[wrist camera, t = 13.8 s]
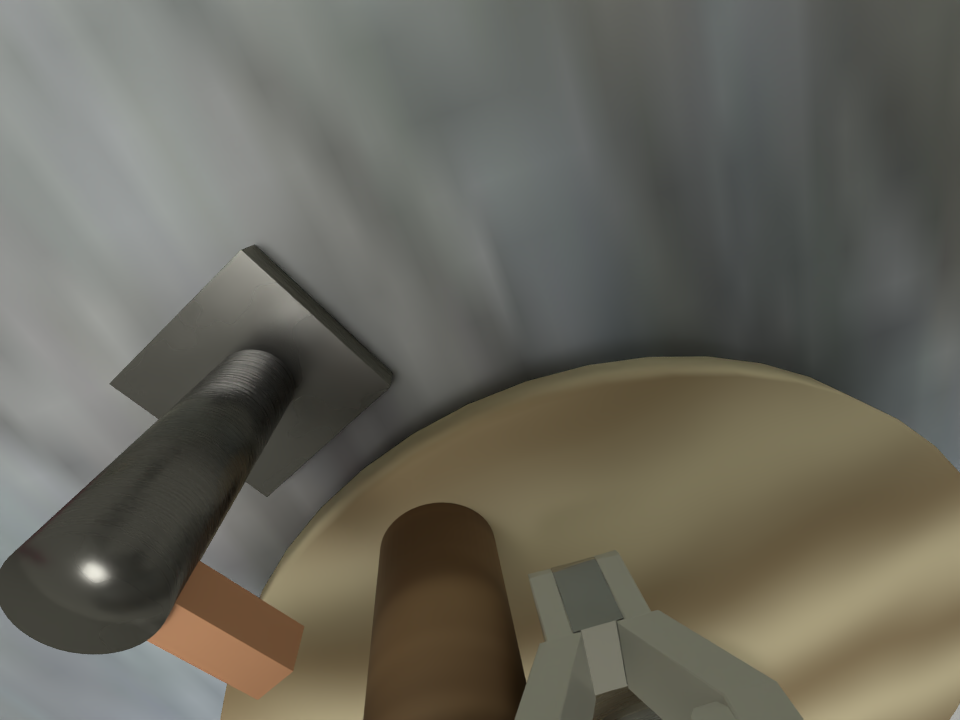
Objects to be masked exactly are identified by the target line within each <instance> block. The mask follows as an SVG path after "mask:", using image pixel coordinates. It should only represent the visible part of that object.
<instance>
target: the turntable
mask: <svg viewBox="0 0 960 720" xmlns="http://www.w3.org/2000/svg"><path fill="white" fill-rule="evenodd" d="M613 550H616V551H617V552H618V553H619V554H620V556H621V558H622V559H623V561H624V563H625V565H626V567H627V568H628V570H629V572H630V574H631V576H632V577H633V579H634V581H635V583H636V585H637V587H638V588H639V590H640V592H641V594H642V596H643V597H644V599H645V601H646V603H647V605H648V607H649V608H650V610H651V611H655V610H659V611H661V612H663V613H664V614H666V615H668V616H669V617H671V618H673V619H674V620H676V621H678V622H679V623H681V624H682V625H684V626H686V627H687V628H689V629H691V630H692V631H694V632H696V633H697V634H699V635H701V636H702V637H704V638H705V639H707V640H709V641H710V642H712V643H714V644H715V645H717V646H719V647H720V648H722V649H724V650H725V651H727V652H729V653H730V654H732V655H733V656H735V657H737V658H738V659H740V660H742V661H743V662H745V663H747V664H748V665H750V666H752V667H753V668H755V669H756V670H758V671H760V672H761V673H763V674H765V675H766V676H768V677H770V678H771V679H773V680H775V681H776V682H777V683H778V684H779V686H780V687H781V688H782V690H783V691H784V693H785V694H786V695H787V697H788V698H789V699H790V701H791V702H792V704H793V705H794V706H795V708H796V709H797V711H798V712H799V713H800V715H801V716H802V718H803V719H804V720H949V719H950V718H951V716H952V715H953V714H954V712H955V711H956V709H957V707H958V705H959V703H960V473H959V472H958V471H957V469H956V468H955V467H954V466H953V465H952V464H951V463H950V462H949V461H948V460H947V459H946V458H945V456H944V455H943V454H942V453H941V452H940V451H939V450H938V449H937V448H936V447H935V446H934V445H933V444H932V443H930V442H929V441H927V440H926V439H925V438H923V437H922V436H920V435H919V434H918V433H916V432H915V431H913V430H912V429H911V428H909V427H908V426H906V425H905V424H904V423H902V422H901V421H900V420H898V419H896V418H894V417H892V416H890V415H888V414H886V413H884V412H882V411H880V410H878V409H876V408H874V407H872V406H870V405H867V404H865V403H863V402H861V401H859V400H857V399H855V398H853V397H851V396H849V395H847V394H845V393H843V392H841V391H838V390H836V389H834V388H832V387H830V386H828V385H826V384H823V383H821V382H819V381H817V380H815V379H813V378H811V377H808V376H804V375H801V374H797V373H794V372H790V371H787V370H783V369H780V368H776V367H772V366H769V365H765V364H762V363H755V362H747V361H739V360H731V359H724V358H716V357H708V356H693V357H644V358H637V359H629V360H622V361H615V362H607V363H600V364H593V365H587V366H583V367H579V368H575V369H571V370H568V371H564V372H560V373H556V374H552V375H549V376H545V377H541V378H537V379H533V380H529V381H526V382H524V383H521V384H518V385H516V386H513V387H511V388H508V389H506V390H503V391H501V392H498V393H496V394H493V395H491V396H488V397H485V398H483V399H480V400H478V401H475V402H473V403H470V404H468V405H466V406H464V407H462V408H460V409H458V410H457V411H455V412H453V413H451V414H449V415H447V416H445V417H444V418H442V419H440V420H438V421H436V422H434V423H432V424H431V425H429V426H427V427H425V428H423V429H421V430H419V431H418V432H416V433H414V434H412V435H411V436H409V437H408V438H406V439H405V440H404V441H402V442H401V443H399V444H398V445H397V446H395V447H394V448H392V449H391V450H389V451H388V452H387V453H385V454H384V455H382V456H381V457H380V458H378V459H377V460H375V461H374V462H373V463H371V464H370V465H368V466H367V467H365V468H364V469H363V470H362V471H361V472H360V473H358V474H357V475H356V476H355V477H354V478H353V479H352V480H351V481H350V482H349V483H348V484H346V485H345V486H344V487H343V488H342V489H341V490H340V491H339V492H338V493H337V494H336V495H335V496H333V497H332V498H331V499H330V500H329V501H328V502H327V503H326V504H325V505H324V506H323V507H321V509H320V510H319V511H318V512H317V513H316V515H315V516H314V517H313V518H312V520H311V521H310V522H309V523H308V524H307V526H306V527H305V528H304V529H303V530H302V532H301V533H300V534H299V535H298V537H297V538H296V539H295V540H294V541H293V543H292V544H291V545H290V546H289V547H288V549H287V550H286V552H285V554H284V555H283V557H282V559H281V560H280V562H279V564H278V565H277V567H276V569H275V570H274V572H273V574H272V575H271V577H270V579H269V580H268V582H267V584H266V585H265V587H264V589H263V590H262V593H261V595H260V599H261V600H263V601H265V602H266V603H268V604H269V605H271V606H273V607H274V608H276V609H277V610H279V611H281V612H282V613H284V614H285V615H287V616H289V617H290V618H292V619H293V620H295V621H297V622H298V623H300V624H301V625H303V626H304V630H303V634H302V638H301V642H300V646H299V650H298V654H297V658H296V662H295V666H294V670H293V672H292V673H291V674H289V675H288V676H287V677H286V678H284V679H283V680H282V681H281V682H279V683H278V684H277V685H276V686H275V687H273V688H272V689H271V690H270V691H268V692H267V693H266V694H265V695H263V696H262V697H261V698H260V699H259V700H257V699H255V698H253V697H251V696H249V695H247V694H245V693H244V692H242V691H240V690H238V689H236V688H234V687H232V686H230V685H229V684H227V687H226V692H225V697H224V703H223V708H222V713H221V719H220V720H514V719H515V716H516V713H517V710H518V707H519V704H520V701H521V698H522V695H523V692H524V689H525V686H526V683H527V680H528V677H529V674H530V671H531V668H532V665H533V662H534V659H535V656H536V653H537V650H538V647H539V644H540V643H543V642H545V641H544V637H543V633H542V629H541V625H540V622H539V618H538V614H537V610H536V606H535V602H534V598H533V594H532V590H531V586H530V582H529V578H528V574H530V573H534V572H538V571H542V570H546V569H551V568H552V567H556V566H560V565H564V564H568V563H572V562H575V561H578V560H582V559H585V558H589V557H594V556H596V555H599V554H603V553H606V552H610V551H613Z"/></svg>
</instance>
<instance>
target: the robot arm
mask: <svg viewBox="0 0 960 720" xmlns="http://www.w3.org/2000/svg"><path fill="white" fill-rule="evenodd" d="M528 578H529V582H530V586H531V590H532V594H533V598H534V602H535V606H536V610H537V614H538V618H539V622H540V625H541V629H542V633H543V637H544V641H545V642H543V643H540V644H539V647H538V650H537V653H536V656H535V659H534V662H533V665H532V668H531V671H530V674H529V677H528V680H527V683H526V686H525V689H524V692H523V695H522V698H521V701H520V704H519V707H518V710H517V713H516V716H515V719H514V720H593V714H594V708H595V701H596V697H595V696H596V695H599V694H602V693H605V692H608V691H611V690H615V689H619V688H623V687H627V686H628V689H630V690H631V691H632V692H633V693H634V694H635V695H636V696H637V697H638V698H639V699H641V700H642V701H643V702H644V703H645V704H646V705H647V706H648V707H649V708H650V709H652V710H653V711H654V712H655V713H656V714H657V715H658V716H659V717H660V718H661V719H663V720H804V719H803V718H802V716H801V715H800V713H799V712H798V711H797V709H796V708H795V706H794V705H793V704H792V702H791V701H790V699H789V698H788V697H787V695H786V694H785V693H784V691H783V690H782V688H781V687H780V686H779V684H778V683H777V682H776V681H775V680H773V679H771V678H770V677H768V676H766V675H765V674H763V673H761V672H760V671H758V670H756V669H755V668H753V667H752V666H750V665H748V664H747V663H745V662H743V661H742V660H740V659H738V658H737V657H735V656H733V655H732V654H730V653H729V652H727V651H725V650H724V649H722V648H720V647H719V646H717V645H715V644H714V643H712V642H710V641H709V640H707V639H705V638H704V637H702V636H701V635H699V634H697V633H696V632H694V631H692V630H691V629H689V628H687V627H686V626H684V625H682V624H681V623H679V622H678V621H676V620H674V619H673V618H671V617H669V616H668V615H666V614H664V613H663V612H661V611H659V610H655V611H651V610H650V608H649V607H648V605H647V603H646V601H645V599H644V597H643V596H642V594H641V592H640V590H639V588H638V587H637V585H636V583H635V581H634V579H633V577H632V576H631V574H630V572H629V570H628V568H627V567H626V565H625V563H624V561H623V559H622V558H621V556H620V554H619V553H618V552H617V551H616V550H613V551H610V552H606V553H603V554H599V555H596V556H594V557H589V558H585V559H582V560H578V561H575V562H572V563H568V564H564V565H560V566H556V567H552V568H551V569H546V570H542V571H538V572H534V573H530V574H528Z"/></svg>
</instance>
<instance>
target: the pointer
mask: <svg viewBox="0 0 960 720" xmlns="http://www.w3.org/2000/svg"><path fill="white" fill-rule="evenodd" d="M391 378H392V372H391V371H390V370H389V369H387V368H386V367H385V366H384V365H383V364H382V363H381V362H380V361H379V360H378V359H377V358H376V357H375V356H373V355H372V354H371V353H370V352H369V351H368V350H367V349H366V348H365V347H364V346H363V345H362V344H361V343H359V342H358V341H357V340H356V339H355V338H354V337H353V336H352V335H351V334H350V333H349V332H348V331H347V330H345V329H344V328H343V327H342V326H341V325H340V324H339V323H338V322H337V321H336V320H335V319H334V318H333V317H331V316H330V315H329V314H328V313H327V312H326V311H325V310H324V309H323V308H322V307H321V306H320V305H319V304H317V303H316V302H315V301H314V300H313V299H312V298H311V297H310V296H309V295H308V294H307V293H306V292H305V291H303V290H302V289H301V288H300V287H299V286H298V285H297V284H296V283H295V282H294V281H293V280H292V279H291V278H289V277H288V276H287V275H286V274H285V273H284V272H283V271H282V270H281V269H280V268H279V267H278V266H277V265H275V264H274V263H273V262H272V261H271V260H270V259H269V258H268V257H267V256H266V255H265V254H264V253H263V252H261V251H260V250H259V249H258V248H257V247H256V246H255V245H252V246H250V247H247V248H245V249H242V250H240V251H239V252H238V253H237V255H236V256H235V257H234V258H233V259H232V260H231V261H230V262H229V263H228V264H227V265H226V266H225V267H224V268H223V269H222V270H221V271H220V272H219V273H218V274H217V275H216V276H215V277H214V278H213V279H212V280H211V281H210V282H209V283H208V284H207V285H206V286H205V287H204V288H203V289H202V290H201V291H200V292H199V293H198V294H197V295H196V296H195V297H194V298H193V299H192V300H191V301H190V302H189V303H188V304H187V305H186V306H185V307H184V308H183V309H182V310H181V311H180V312H179V313H178V314H177V316H176V317H175V318H174V319H173V320H172V321H171V322H170V323H169V324H168V325H167V326H166V327H165V328H164V329H163V330H162V331H161V332H160V333H159V334H158V335H157V336H156V337H155V338H154V339H153V340H152V341H151V342H150V343H149V344H148V345H147V346H146V347H145V348H144V349H143V350H142V351H141V352H140V353H139V354H138V355H137V356H136V357H135V358H134V359H133V360H132V361H131V362H130V363H129V364H128V365H127V366H126V367H125V368H124V369H123V370H122V371H121V372H120V373H119V374H118V375H117V377H116V378H115V379H114V380H113V381H112V382H111V383H110V385H112V386H113V387H115V388H116V389H117V390H119V391H120V392H121V393H123V394H124V395H126V396H127V397H128V398H130V399H131V400H133V401H134V402H135V403H137V404H138V405H140V406H141V407H142V408H144V409H145V410H147V411H148V412H149V413H151V414H152V415H153V416H155V417H156V418H158V419H159V420H158V421H156V422H155V423H154V424H153V425H152V426H151V427H150V428H149V429H148V430H147V431H146V432H144V433H143V434H142V435H141V436H140V437H139V438H138V439H137V440H136V441H135V442H134V443H133V444H131V445H130V446H129V447H128V448H127V449H126V450H125V451H124V452H123V453H122V454H121V455H119V456H118V457H117V458H116V459H115V460H114V461H113V462H112V463H111V464H110V465H109V466H107V467H106V468H105V469H104V470H103V471H102V472H101V473H100V474H99V475H98V476H97V477H95V478H94V479H93V480H92V481H91V482H90V483H89V484H88V485H87V486H86V487H85V488H83V489H82V490H81V491H80V492H79V493H78V494H77V495H76V496H75V497H74V498H73V499H72V500H70V501H69V502H68V503H67V504H66V505H65V506H64V507H63V508H62V509H61V510H60V511H58V512H57V513H56V514H55V515H54V516H53V517H52V518H51V519H50V520H49V521H48V522H46V523H45V524H44V525H43V526H42V527H41V528H40V529H39V530H38V531H37V532H36V533H34V534H33V535H32V536H31V537H30V538H29V539H28V540H27V541H26V542H25V543H24V544H22V545H21V546H20V547H19V548H18V549H17V550H16V551H15V552H14V553H13V554H12V555H11V556H9V558H8V559H7V560H6V561H5V562H4V564H3V565H2V567H1V569H0V606H1V608H2V610H3V612H4V613H5V615H6V616H7V617H8V619H9V620H10V621H11V622H12V623H13V624H14V625H15V626H16V627H17V628H18V629H20V630H21V631H22V632H23V633H25V634H26V635H28V636H29V637H31V638H33V639H35V640H36V641H38V642H40V643H43V644H45V645H47V646H50V647H53V648H56V649H59V650H63V651H67V652H73V653H80V654H108V653H115V652H120V651H124V650H127V649H130V648H133V647H135V646H137V645H140V644H142V643H143V642H145V641H148V642H150V643H152V644H154V645H156V646H158V647H160V648H161V649H163V650H165V651H167V652H169V653H171V654H173V655H175V656H176V657H178V658H180V659H182V660H184V661H186V662H188V663H189V664H191V665H193V666H195V667H197V668H199V669H201V670H202V671H204V672H206V673H208V674H210V675H212V676H214V677H216V678H217V679H219V680H221V681H223V682H225V683H227V684H229V685H230V686H232V687H234V688H236V689H238V690H240V691H242V692H244V693H245V694H247V695H249V696H251V697H253V698H255V699H257V700H259V699H260V698H261V697H262V696H263V695H265V694H266V693H267V692H268V691H270V690H271V689H272V688H273V687H275V686H276V685H277V684H278V683H279V682H281V681H282V680H283V679H284V678H286V677H287V676H288V675H289V674H291V673H292V672H293V670H294V666H295V662H296V658H297V654H298V650H299V646H300V642H301V638H302V634H303V630H304V626H303V625H301V624H300V623H298V622H297V621H295V620H293V619H292V618H290V617H289V616H287V615H285V614H284V613H282V612H281V611H279V610H277V609H276V608H274V607H273V606H271V605H269V604H268V603H266V602H265V601H263V600H261V599H260V598H258V597H257V596H255V595H253V594H252V593H250V592H249V591H247V590H245V589H244V588H242V587H241V586H239V585H237V584H236V583H234V582H233V581H231V580H229V579H228V578H226V577H225V576H223V575H222V574H220V573H218V572H217V571H215V570H214V569H212V568H210V567H209V566H207V565H206V564H204V563H202V562H201V561H200V560H201V558H202V556H203V554H204V553H205V551H206V549H207V547H208V546H209V544H210V542H211V541H212V539H213V537H214V535H215V534H216V532H217V530H218V528H219V527H220V525H221V523H222V521H223V520H224V518H225V516H226V514H227V513H228V511H229V509H230V507H231V506H232V504H233V502H234V500H235V499H236V497H237V495H238V493H239V492H240V490H241V488H242V486H243V485H244V483H245V482H247V483H248V484H250V485H251V486H252V487H254V488H255V489H257V490H258V491H259V492H261V493H262V494H264V495H265V496H266V497H268V496H269V495H270V494H271V493H272V492H273V491H274V490H275V489H277V488H278V487H279V486H280V485H281V484H282V483H283V482H284V481H285V480H287V479H288V478H289V477H290V476H291V475H292V474H293V473H294V472H295V471H297V470H298V469H299V468H300V467H301V466H302V465H303V464H304V463H306V462H307V461H308V460H309V459H310V458H311V457H312V456H313V455H314V454H316V453H317V452H318V451H319V450H320V449H321V448H322V447H323V446H324V445H326V444H327V443H328V442H329V441H330V440H331V439H332V438H333V437H335V436H336V435H337V434H338V433H339V432H340V431H341V430H342V429H343V428H345V427H346V426H347V425H348V424H349V423H350V422H351V421H352V420H353V419H355V418H356V417H357V416H358V415H359V414H360V413H361V412H362V411H364V410H365V409H366V408H367V407H368V406H369V405H370V404H371V403H372V402H374V401H375V400H376V399H377V398H378V397H379V396H380V395H381V394H382V393H384V392H385V391H386V390H387V389H388V388H389V387H390V386H391Z"/></svg>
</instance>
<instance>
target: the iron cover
mask: <svg viewBox="0 0 960 720" xmlns="http://www.w3.org/2000/svg"><path fill="white" fill-rule="evenodd" d="M595 697H596V701H595V708H594V714H593V720H663V719H661V718H660V717H659V716H658V715H657V714H656V713H655V712H654V711H653V710H652V709H650V708H649V707H648V706H647V705H646V704H645V703H644V702H643V701H642V700H641V699H639V698H638V697H637V696H636V695H635V694H634V693H633V692H632V691H631V690H630V689H628V686H627V687H623V688H619V689H615V690H611V691H608V692H605V693H602V694H599V695H596V696H595Z"/></svg>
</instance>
